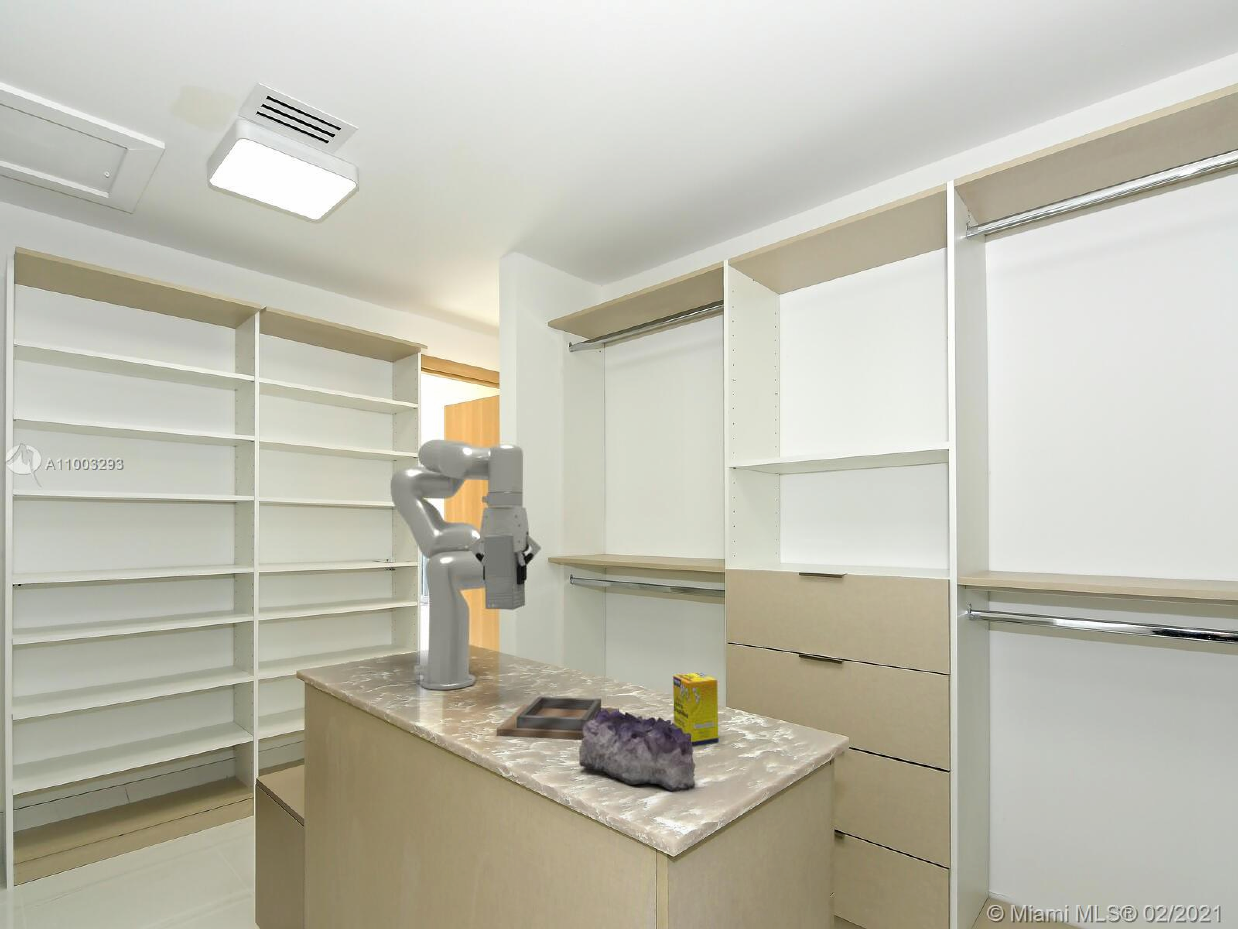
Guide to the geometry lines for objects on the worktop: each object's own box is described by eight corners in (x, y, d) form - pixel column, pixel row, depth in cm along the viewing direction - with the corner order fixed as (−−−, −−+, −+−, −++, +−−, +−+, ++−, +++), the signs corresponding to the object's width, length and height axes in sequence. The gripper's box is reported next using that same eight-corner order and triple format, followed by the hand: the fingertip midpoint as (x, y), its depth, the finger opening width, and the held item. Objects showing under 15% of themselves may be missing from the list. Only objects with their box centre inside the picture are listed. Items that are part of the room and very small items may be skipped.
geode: (716, 775, 101) (712, 711, 100) (677, 812, 91) (673, 742, 91) (610, 744, 113) (607, 687, 112) (566, 774, 103) (563, 712, 103)
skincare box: (513, 610, 136) (513, 534, 138) (481, 610, 138) (482, 534, 139) (526, 605, 145) (527, 533, 146) (496, 605, 146) (497, 533, 148)
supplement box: (672, 737, 118) (672, 675, 119) (701, 732, 120) (700, 672, 121) (689, 747, 112) (688, 682, 113) (719, 742, 115) (717, 678, 116)
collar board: (496, 735, 119) (496, 717, 120) (523, 710, 135) (523, 694, 135) (604, 741, 116) (604, 722, 116) (619, 714, 132) (619, 698, 132)
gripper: (461, 501, 141) (460, 585, 140) (538, 500, 138) (538, 586, 137) (474, 502, 148) (473, 582, 147) (548, 501, 146) (548, 582, 144)
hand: (504, 583), depth 142 cm, fingers closed on skincare box, 6 cm apart
